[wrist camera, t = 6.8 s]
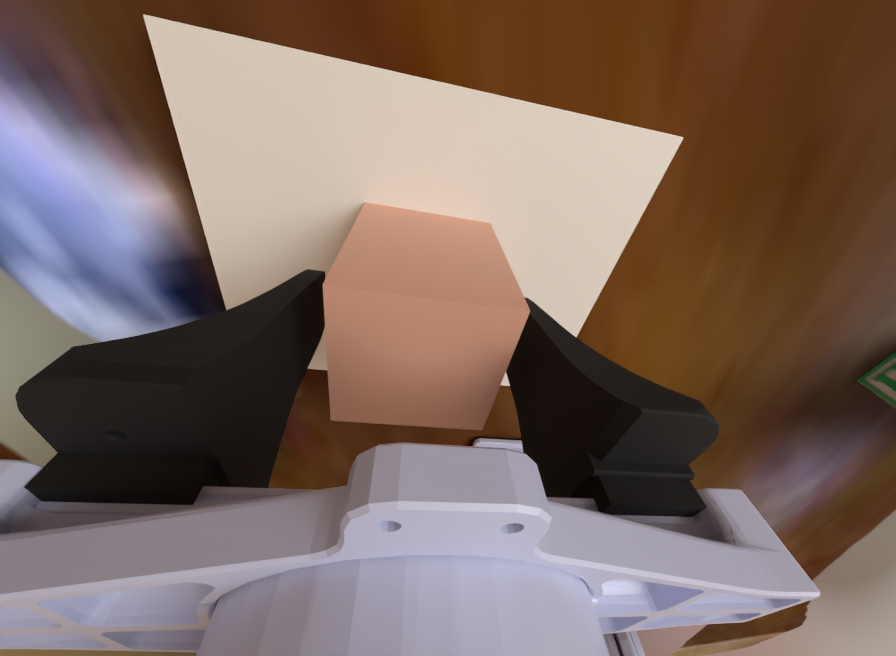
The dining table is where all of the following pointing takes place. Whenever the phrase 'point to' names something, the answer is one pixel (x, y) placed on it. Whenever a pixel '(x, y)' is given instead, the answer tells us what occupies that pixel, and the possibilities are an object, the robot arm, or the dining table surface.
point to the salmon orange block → (419, 320)
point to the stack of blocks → (882, 380)
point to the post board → (393, 166)
